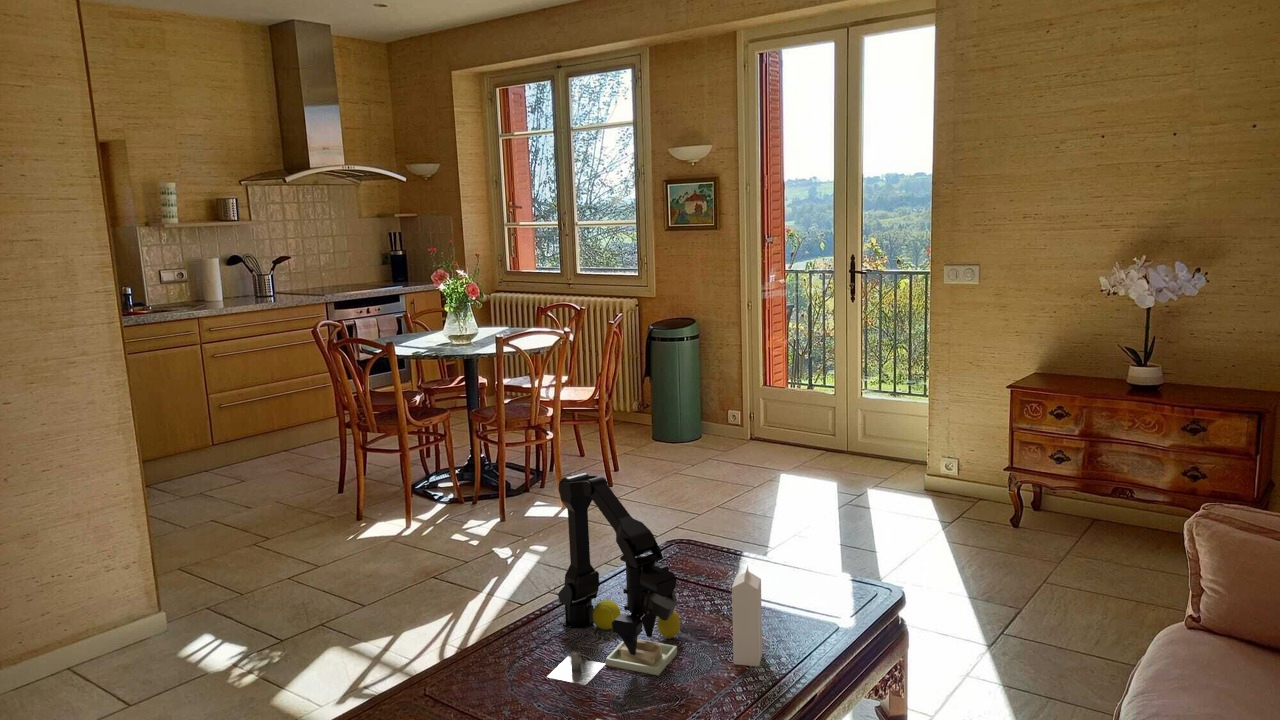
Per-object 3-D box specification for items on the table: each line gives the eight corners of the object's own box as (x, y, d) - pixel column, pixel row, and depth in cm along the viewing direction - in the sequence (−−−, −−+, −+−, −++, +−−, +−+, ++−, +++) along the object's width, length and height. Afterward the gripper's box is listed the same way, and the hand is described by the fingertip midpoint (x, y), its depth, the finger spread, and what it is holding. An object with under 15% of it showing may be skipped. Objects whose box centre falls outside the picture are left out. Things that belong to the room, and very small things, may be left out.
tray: (606, 666, 210) (605, 658, 209) (626, 644, 220) (626, 637, 219) (658, 677, 204) (658, 668, 204) (677, 653, 214) (676, 646, 214)
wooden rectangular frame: (662, 655, 213) (661, 643, 212) (652, 667, 208) (652, 654, 207) (624, 648, 217) (624, 637, 216) (614, 659, 212) (613, 647, 211)
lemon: (678, 644, 219) (677, 613, 217) (656, 643, 220) (655, 612, 218) (682, 634, 224) (681, 603, 223) (660, 632, 225) (659, 602, 224)
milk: (733, 664, 209) (730, 574, 205) (737, 651, 214) (734, 563, 210) (759, 666, 207) (757, 576, 203) (762, 653, 213) (760, 565, 209)
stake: (546, 678, 206) (545, 659, 205) (567, 657, 214) (566, 639, 214) (585, 686, 201) (584, 667, 201) (605, 665, 210) (604, 646, 210)
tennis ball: (616, 635, 225) (614, 609, 223) (589, 632, 227) (588, 606, 225) (624, 623, 231) (623, 597, 230) (598, 620, 233) (597, 594, 232)
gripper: (655, 604, 197) (657, 670, 200) (686, 571, 214) (688, 633, 216) (609, 597, 202) (612, 662, 204) (643, 565, 218) (645, 625, 221)
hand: (641, 645), depth 211 cm, fingers open, 9 cm apart
